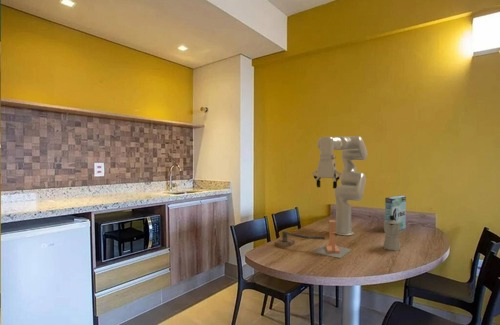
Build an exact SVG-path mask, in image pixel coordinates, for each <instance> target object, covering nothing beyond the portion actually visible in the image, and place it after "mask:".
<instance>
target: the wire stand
mask: <svg viewBox="0 0 500 325" xmlns="http://www.w3.org/2000/svg"><path fill="white" fill-rule="evenodd" d="M288 236H291V237H296V238H301V239H306V240H325V239H326V238H325V236H319V235H317V236H316V235H304V234H297V233H293V232H288V231H285V230H284V231H282V238H281V239H279V240H277V241H275V242H274V247H278V248H282V249H287V248H289V247H291V246H293V245H296V244H295V243H296V242H295V240H294V239H288Z"/></svg>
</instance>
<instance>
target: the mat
mask: <svg viewBox="0 0 500 325" xmlns="http://www.w3.org/2000/svg"><path fill="white" fill-rule="evenodd" d="M325 245H328V243H326V244H323V245H321V246H319V247H318V248H316V249H314V250H313V251H311V253H312V254H318V255H322V256H326V257H327V256H328V257H331V258H335V259H340V260H341V259H342V258H343V257H345V256H346V255H347V254H349V253H350V252H351V251H353V249H352V248H347V247H344V246H343V247H342V246H338V245H337V247H338V249H339V251H340V253H328V252H327V250H326V247H325Z"/></svg>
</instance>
